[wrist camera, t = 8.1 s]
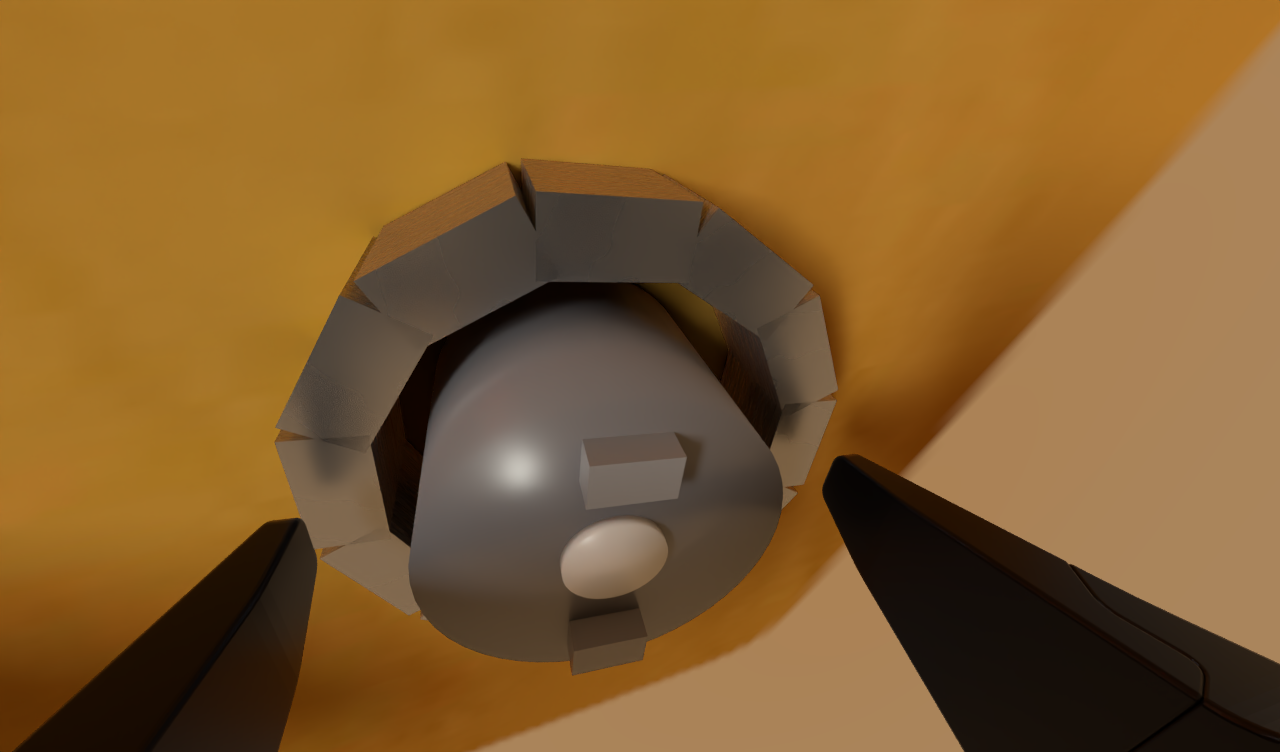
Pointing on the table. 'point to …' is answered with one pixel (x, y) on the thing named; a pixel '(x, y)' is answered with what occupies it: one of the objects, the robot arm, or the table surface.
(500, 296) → the segmented ring
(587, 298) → the cap
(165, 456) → the table surface
